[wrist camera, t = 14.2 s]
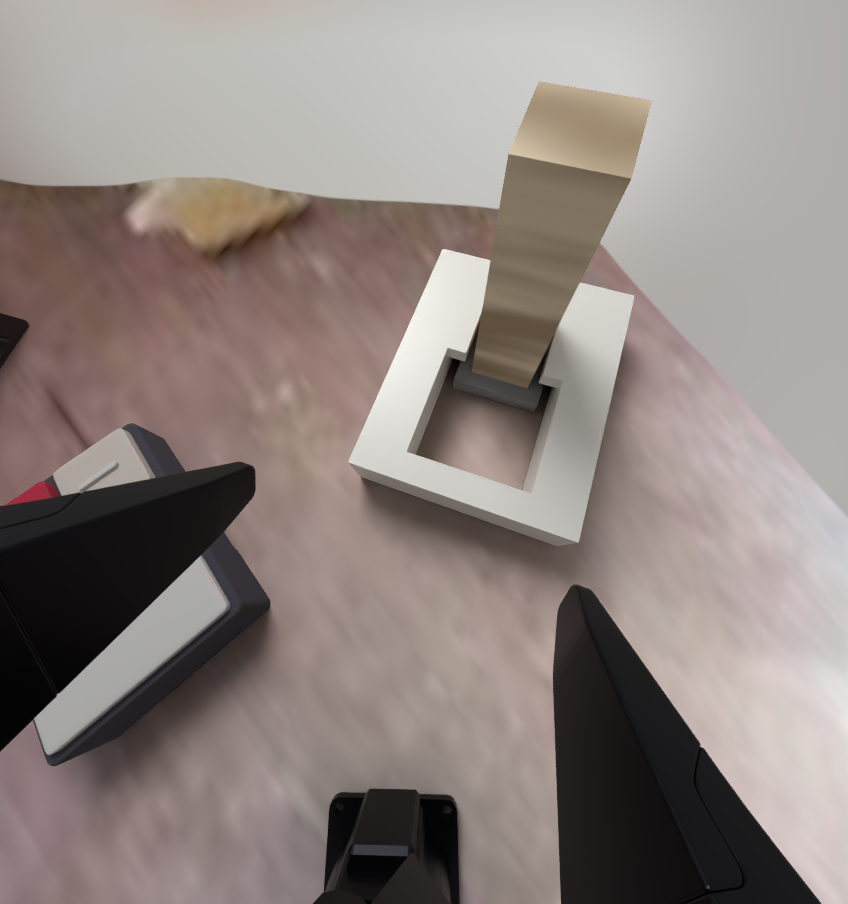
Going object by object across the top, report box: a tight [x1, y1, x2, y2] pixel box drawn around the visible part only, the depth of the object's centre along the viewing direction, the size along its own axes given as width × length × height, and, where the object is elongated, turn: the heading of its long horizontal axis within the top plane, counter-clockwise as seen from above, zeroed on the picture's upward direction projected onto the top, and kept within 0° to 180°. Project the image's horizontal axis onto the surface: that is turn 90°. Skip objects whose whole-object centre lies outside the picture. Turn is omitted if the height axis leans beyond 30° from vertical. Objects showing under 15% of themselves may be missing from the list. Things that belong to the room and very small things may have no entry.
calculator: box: [6, 423, 270, 766], centre depth 21 cm, size 11×4×15 cm
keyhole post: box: [453, 82, 651, 412], centre depth 19 cm, size 6×6×15 cm
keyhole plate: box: [348, 249, 634, 547], centre depth 24 cm, size 17×14×4 cm
